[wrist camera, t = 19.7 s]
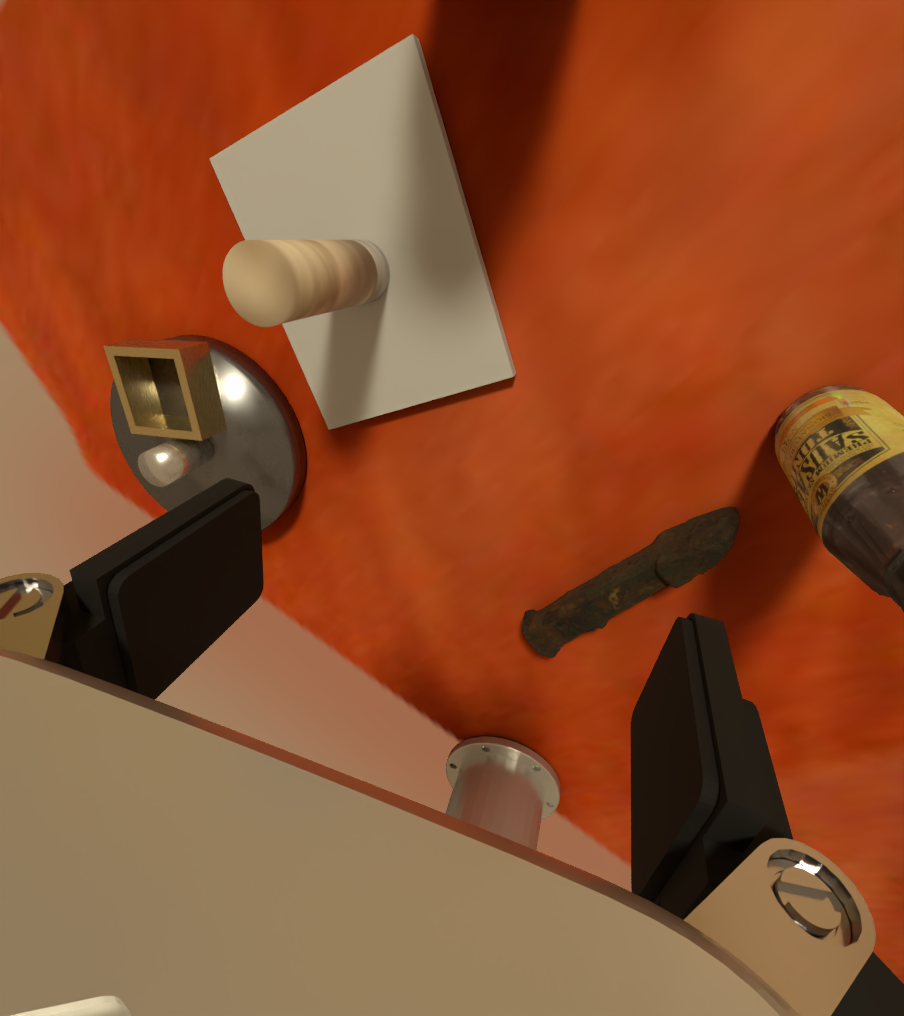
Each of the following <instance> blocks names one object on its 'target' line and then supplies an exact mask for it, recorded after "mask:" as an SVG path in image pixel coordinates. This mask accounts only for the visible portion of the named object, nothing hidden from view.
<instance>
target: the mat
mask: <svg viewBox="0 0 904 1016" xmlns="http://www.w3.org/2000/svg"><path fill="white" fill-rule="evenodd" d="M210 161H211V163H212V166H213V168H214V170H215V172H216V175H217V177H218V179H219V182H220V184H221V186H222V188H223V191H224V193H225V195H226V197H227V200H228V202H229V204H230V206H231V209H232V211H233V213H234V216H235V218H236V220H237V222H238V225H239V227H240V229H241V231H242V234H243V236H244V238H245V240H367V241H370V242H372V243H374V244H375V245H377V246H378V247H379V248H380V249H381V251H382V252H383V253H384V255H385V257H386V259H387V261H388V265H389V270H390V278H389V284H388V287H387V289H386V291H385V292H384V294H383V295H382V296H381V297H380V298H379V299H377V300H376V301H373V302H370V303H366V304H361V305H357V306H353V307H349V308H345V309H341V310H337V311H333V312H328V313H324V314H320V315H316V316H312V317H308V318H304V319H300V320H295V321H291V322H287V323H283V324H282V325H283V327H284V329H285V331H286V334H287V336H288V338H289V340H290V343H291V345H292V347H293V350H294V352H295V354H296V356H297V359H298V361H299V363H300V365H301V368H302V370H303V372H304V374H305V377H306V379H307V381H308V384H309V386H310V388H311V390H312V393H313V395H314V397H315V399H316V402H317V404H318V406H319V409H320V411H321V413H322V415H323V418H324V420H325V422H326V424H327V427H328V429H329V430H330V429H334V428H337V427H341V426H344V425H348V424H351V423H355V422H358V421H362V420H365V419H369V418H372V417H376V416H379V415H383V414H386V413H390V412H393V411H396V410H400V409H403V408H407V407H410V406H414V405H417V404H421V403H424V402H428V401H431V400H435V399H438V398H442V397H445V396H449V395H452V394H456V393H459V392H462V391H466V390H469V389H473V388H476V387H480V386H483V385H487V384H490V383H494V382H497V381H501V380H504V379H508V378H511V377H514V376H515V374H516V371H515V367H514V364H513V361H512V357H511V354H510V350H509V347H508V343H507V340H506V337H505V333H504V330H503V326H502V323H501V319H500V316H499V313H498V309H497V306H496V302H495V299H494V295H493V292H492V289H491V285H490V282H489V278H488V275H487V271H486V268H485V265H484V261H483V258H482V254H481V251H480V247H479V244H478V241H477V237H476V234H475V230H474V227H473V223H472V220H471V217H470V213H469V210H468V206H467V203H466V199H465V196H464V193H463V189H462V186H461V182H460V179H459V175H458V172H457V169H456V165H455V162H454V158H453V155H452V151H451V148H450V145H449V141H448V138H447V134H446V131H445V127H444V124H443V120H442V117H441V114H440V110H439V107H438V103H437V100H436V96H435V93H434V90H433V86H432V83H431V79H430V76H429V72H428V69H427V66H426V62H425V59H424V55H423V52H422V48H421V45H420V42H419V39H418V38H417V37H416V36H415V35H413V34H412V35H410V36H409V37H407V38H405V39H404V40H402V41H400V42H399V43H397V44H395V45H394V46H392V47H391V48H389V49H387V50H386V51H384V52H382V53H381V54H379V55H378V56H376V57H374V58H373V59H371V60H369V61H368V62H366V63H365V64H363V65H361V66H360V67H358V68H356V69H355V70H353V71H351V72H350V73H348V74H347V75H345V76H343V77H342V78H340V79H338V80H337V81H335V82H334V83H332V84H330V85H329V86H327V87H325V88H324V89H322V90H321V91H319V92H317V93H316V94H314V95H312V96H311V97H309V98H307V99H306V100H304V101H303V102H301V103H299V104H298V105H296V106H294V107H293V108H291V109H290V110H288V111H286V112H285V113H283V114H281V115H280V116H278V117H277V118H275V119H273V120H272V121H270V122H268V123H267V124H265V125H264V126H262V127H260V128H259V129H257V130H255V131H254V132H252V133H250V134H249V135H247V136H246V137H244V138H242V139H241V140H239V141H237V142H236V143H234V144H233V145H231V146H229V147H228V148H226V149H224V150H223V151H221V152H220V153H218V154H216V155H215V156H213V157H211V158H210Z"/></svg>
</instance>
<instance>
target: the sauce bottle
mask: <svg viewBox="0 0 904 1016" xmlns="http://www.w3.org/2000/svg"><path fill="white" fill-rule="evenodd" d="M774 439H775V453H776V456H777V459H778V461H779V463H780V465H781V467H782V469H783V471H784V473H785V475H786V476H787V478H788V480H789V482H790V484H791V486H792V487H793V489H794V491H795V493H796V495H797V496H798V498H799V500H800V502H801V504H802V506H803V508H804V510H805V512H806V513H807V515H808V517H809V519H810V520H811V522H812V524H813V525H814V527H815V530H816V532H817V533H818V535H819V536H820V538H821V540H822V542H823V544H824V546H825V547H826V548H827V550H828V551H829V552H830V553H832V554H833V555H834V556H835V557H836V558H837V559H838V560H839V561H841V562H842V563H843V564H844V565H845V566H846V567H847V568H848V569H850V570H851V571H852V572H853V573H854V574H855V575H856V576H857V577H859V578H860V579H861V580H862V581H863V582H864V583H865V584H866V585H868V586H869V587H870V588H871V589H872V590H873V591H875V592H877V593H878V594H879V595H883V596H886V597H891V598H892V599H893V600H894V601H895V602H896V603H897V604H898V605H899V606H900V607H901V608H902V610H903V611H904V416H902V415H901V414H900V413H899V412H898V411H896V410H895V409H894V408H893V407H891V406H890V405H889V404H888V403H886V402H885V401H884V400H882V399H881V398H879V397H878V396H876V395H874V394H871V393H868V392H866V391H864V390H862V389H860V388H857V387H854V386H850V385H832V386H825V387H822V388H818V389H815V390H812V391H809V392H808V393H806V394H804V395H803V396H801V397H800V398H798V399H797V400H796V401H795V402H793V403H792V404H791V405H790V406H789V407H788V408H787V409H786V410H785V411H784V412H783V414H782V416H781V417H780V419H779V420H778V421H777V426H776V431H775V438H774Z"/></svg>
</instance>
